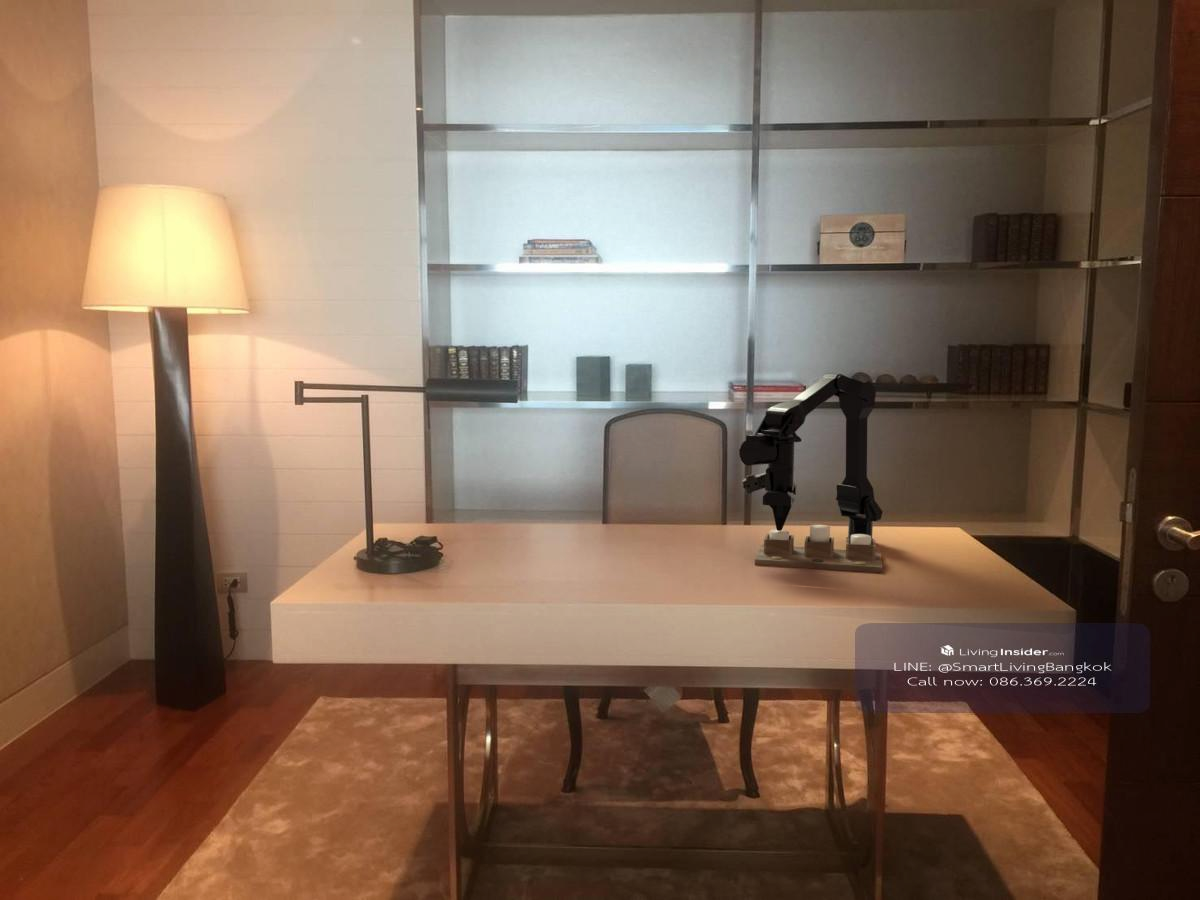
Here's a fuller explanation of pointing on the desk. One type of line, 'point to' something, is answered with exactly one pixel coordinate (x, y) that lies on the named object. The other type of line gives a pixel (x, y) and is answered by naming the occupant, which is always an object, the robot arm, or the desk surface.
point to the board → (819, 555)
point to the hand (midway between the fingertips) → (779, 530)
